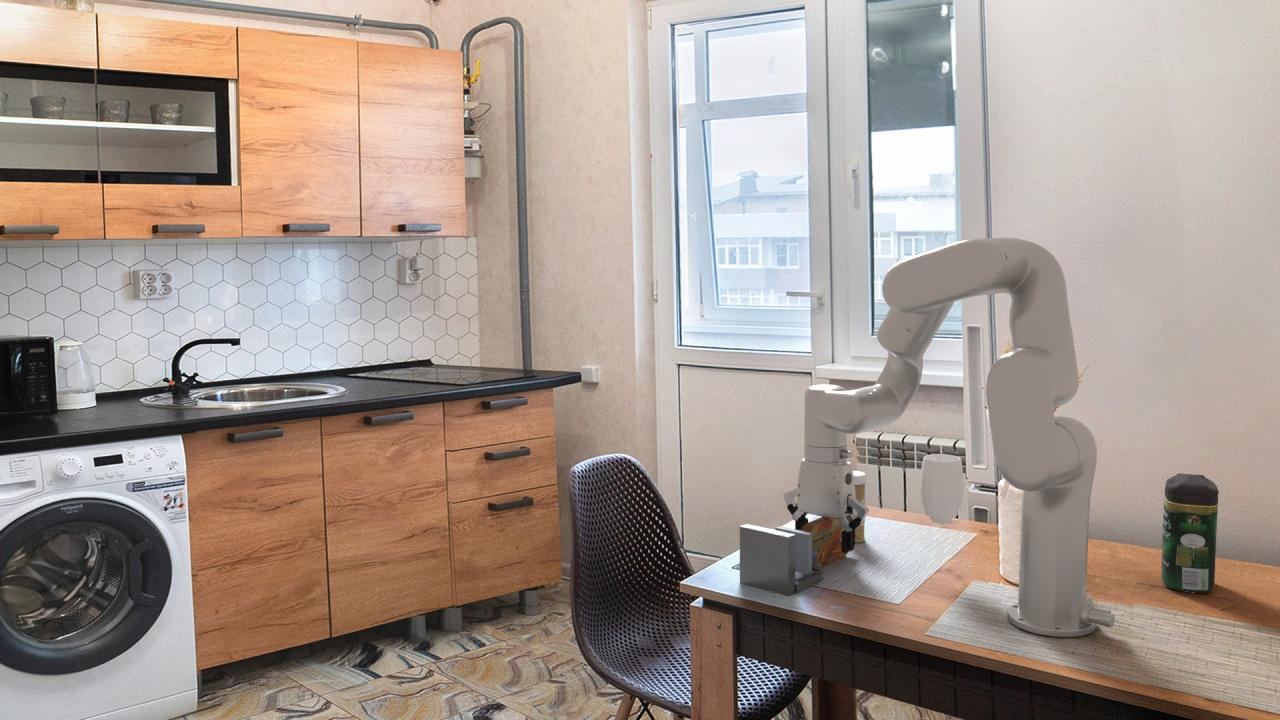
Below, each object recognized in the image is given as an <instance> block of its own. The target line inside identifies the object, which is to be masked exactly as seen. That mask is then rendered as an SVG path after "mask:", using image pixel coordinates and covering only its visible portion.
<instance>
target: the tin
mask: <svg viewBox="0 0 1280 720" xmlns="http://www.w3.org/2000/svg"><path fill="white" fill-rule="evenodd" d="M844 530H845V529H844V527H843V526H842V524H841V523H840V521H839V520H838V519H832V518H827V517H822V516H819V518H816V519H813V520H811V521H808V523H807V524H805V525H804V526H803V528H802V529H801V531H804V532H809V533H812V569H815V570H822V569H824V568H826V567H828V566H830V565H832V564H835V563H836V561H837V562H838V560H839V561H841V560H842V559H844V558H845V557H846V556H848V553H849V552H847V553H843V552H842V531H844ZM827 565H828V566H827ZM825 566H826V567H825ZM823 567H824V568H823ZM821 568H822V569H821Z"/></svg>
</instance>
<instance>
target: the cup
mask: <svg viewBox="0 0 1280 720" xmlns="http://www.w3.org/2000/svg"><path fill="white" fill-rule="evenodd" d="M962 463H963V462H962V459H961V457H960V456H957V455H952V454H945V453H941V454H940V453H939V454H938V453H936V454H935V453H934V454H933V453H932V454H927V455H924V456H923V458H922V463H921V470H920V480H919V482H920V483H919V484H920V485H919V491H920V498H921V504H922V507H923V510H924V514H925V515H926V517H929V518H930V519H931V521H932V522H933V523H936V524H938V525H944V524H949V523H950V522H951V520H953V518H956V517H958V514H959V511H960V509H961V505H962V501H963V495H964V489H965V488H964V471H963V464H962Z"/></svg>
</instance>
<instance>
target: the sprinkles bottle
mask: <svg viewBox="0 0 1280 720" xmlns="http://www.w3.org/2000/svg"><path fill="white" fill-rule="evenodd" d="M853 476H854V483H855V497H856V499H857V500H858V501H859V502H861V503H862V504H863V505H865V506H866V483H867V475H866V472H863V471H859V470H853ZM852 515H853V517H854V519H855V518H856V516H857V511H856V510H855V513H854V514H852ZM865 521H866V518H865V519H864V522H863V523H862V524H861V525H860V526H859V527H858V528H857V529H855V544H857V543H859V544H860V543H862V542H865V540H866V539H865V538H866V537H865V524H866V523H865Z"/></svg>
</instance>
